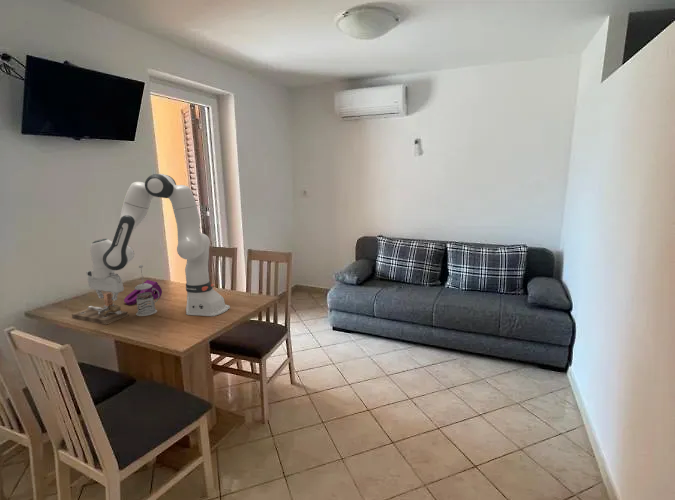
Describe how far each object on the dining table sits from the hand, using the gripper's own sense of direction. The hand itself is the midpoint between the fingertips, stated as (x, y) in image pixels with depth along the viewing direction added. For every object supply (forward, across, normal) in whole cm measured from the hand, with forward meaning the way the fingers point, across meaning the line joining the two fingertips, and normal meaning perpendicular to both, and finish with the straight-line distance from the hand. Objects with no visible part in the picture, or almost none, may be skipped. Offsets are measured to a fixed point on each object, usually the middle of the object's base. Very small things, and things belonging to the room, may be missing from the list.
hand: (108, 299), depth 188 cm
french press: (+9, -14, -10) cm, 20 cm away
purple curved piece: (+9, +5, -23) cm, 26 cm away
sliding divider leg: (+6, 0, +2) cm, 7 cm away
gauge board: (+9, +4, +2) cm, 10 cm away
